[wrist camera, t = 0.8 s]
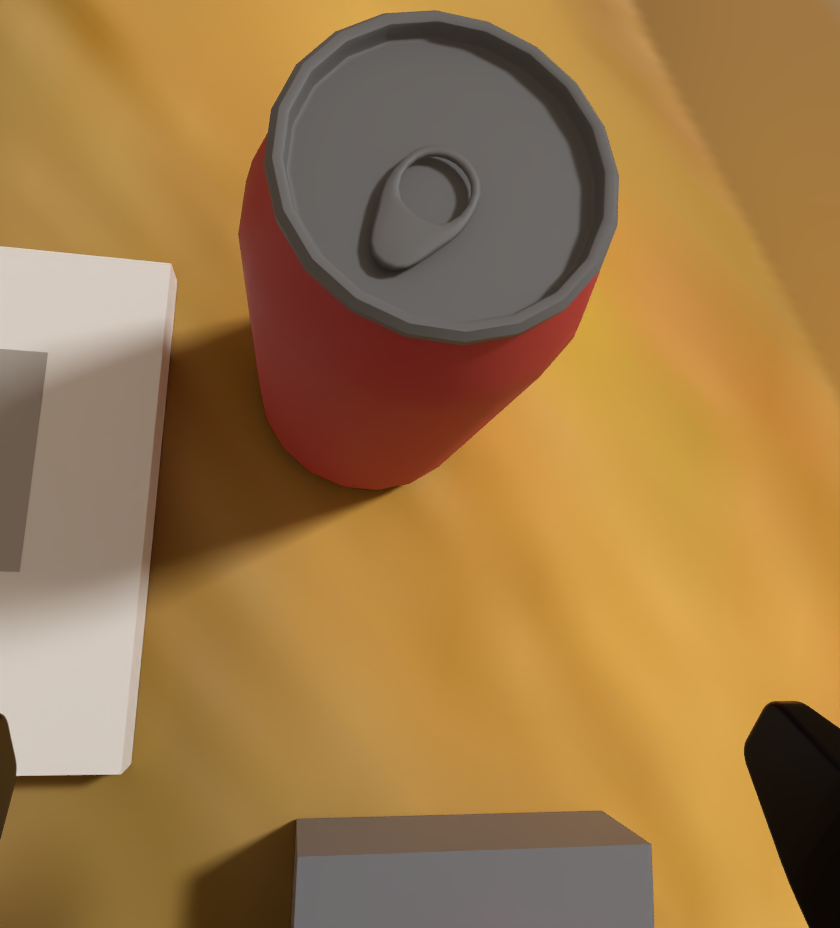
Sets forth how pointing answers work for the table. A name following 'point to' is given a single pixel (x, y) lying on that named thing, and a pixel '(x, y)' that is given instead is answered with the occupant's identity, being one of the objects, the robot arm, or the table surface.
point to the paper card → (78, 499)
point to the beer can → (418, 240)
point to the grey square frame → (472, 872)
